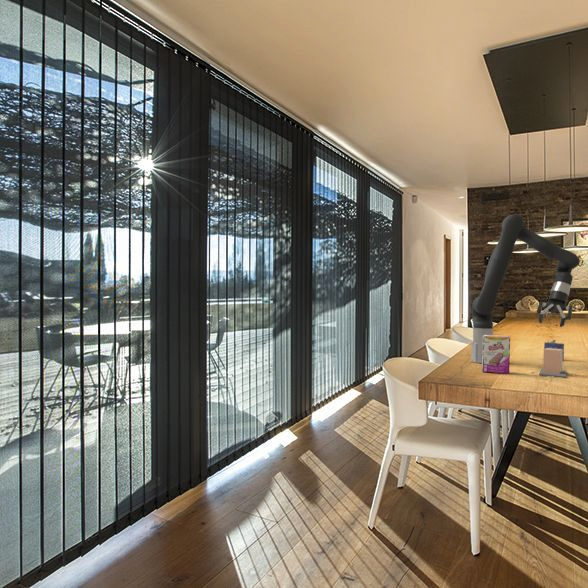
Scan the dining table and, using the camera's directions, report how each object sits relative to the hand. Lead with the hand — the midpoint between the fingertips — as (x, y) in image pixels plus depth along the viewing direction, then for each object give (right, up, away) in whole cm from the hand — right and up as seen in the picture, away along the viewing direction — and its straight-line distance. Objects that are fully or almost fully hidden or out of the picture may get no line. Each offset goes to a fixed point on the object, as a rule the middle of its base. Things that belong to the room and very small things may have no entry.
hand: (550, 324), depth 222 cm
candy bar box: (-29, -21, -9) cm, 37 cm away
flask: (+16, -20, +27) cm, 37 cm away
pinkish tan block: (-6, -20, -12) cm, 24 cm away
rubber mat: (-6, -21, -12) cm, 25 cm away
